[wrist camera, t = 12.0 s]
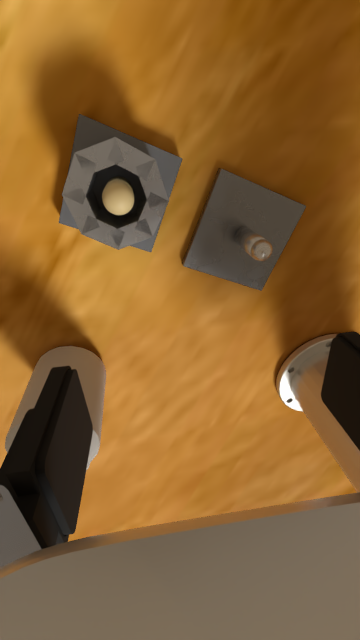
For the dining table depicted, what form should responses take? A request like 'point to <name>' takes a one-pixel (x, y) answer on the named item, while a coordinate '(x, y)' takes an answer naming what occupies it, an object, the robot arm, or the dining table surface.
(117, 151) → the collar
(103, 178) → the square base with peg
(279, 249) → the stand
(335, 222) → the dining table surface
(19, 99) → the dining table surface
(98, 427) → the can
